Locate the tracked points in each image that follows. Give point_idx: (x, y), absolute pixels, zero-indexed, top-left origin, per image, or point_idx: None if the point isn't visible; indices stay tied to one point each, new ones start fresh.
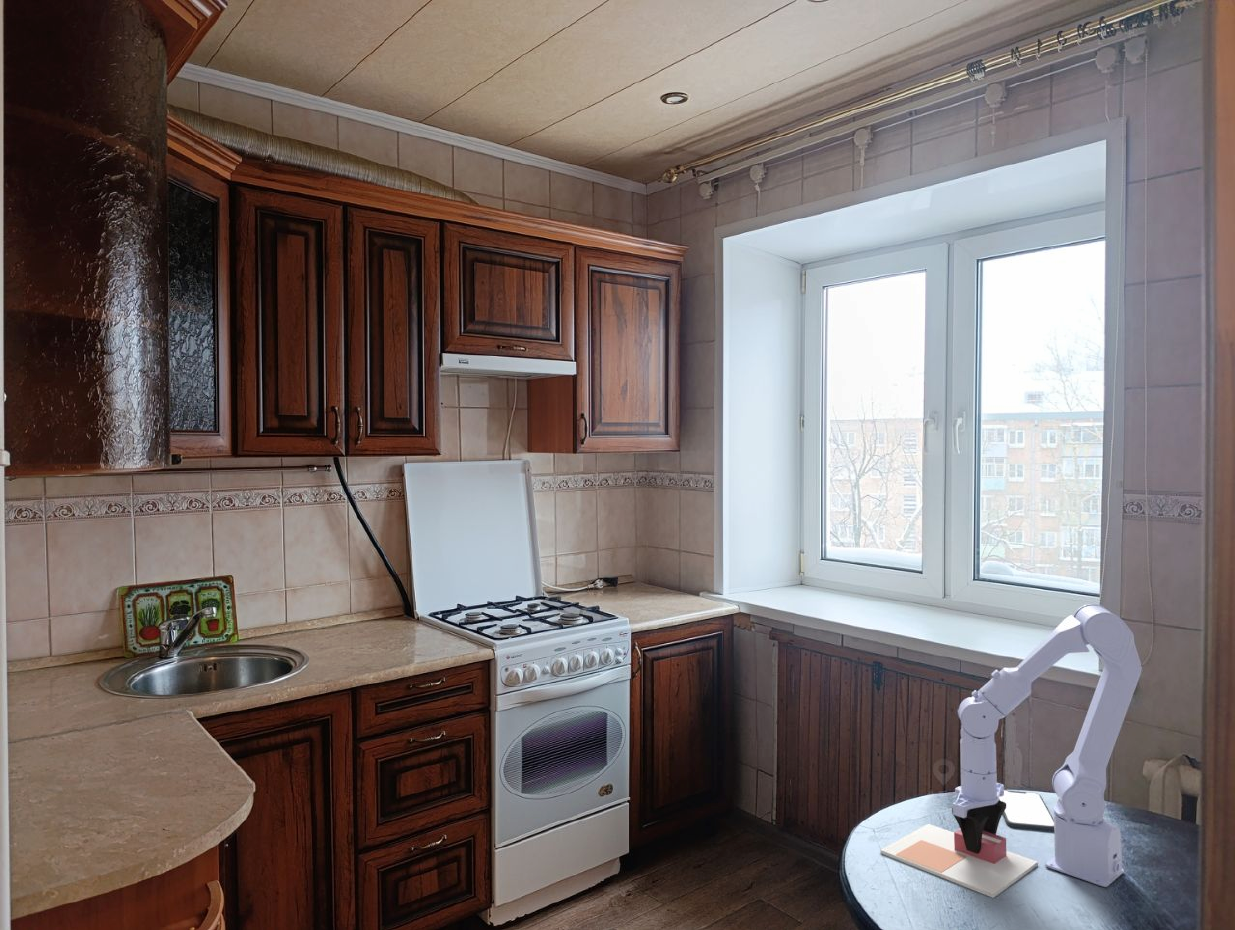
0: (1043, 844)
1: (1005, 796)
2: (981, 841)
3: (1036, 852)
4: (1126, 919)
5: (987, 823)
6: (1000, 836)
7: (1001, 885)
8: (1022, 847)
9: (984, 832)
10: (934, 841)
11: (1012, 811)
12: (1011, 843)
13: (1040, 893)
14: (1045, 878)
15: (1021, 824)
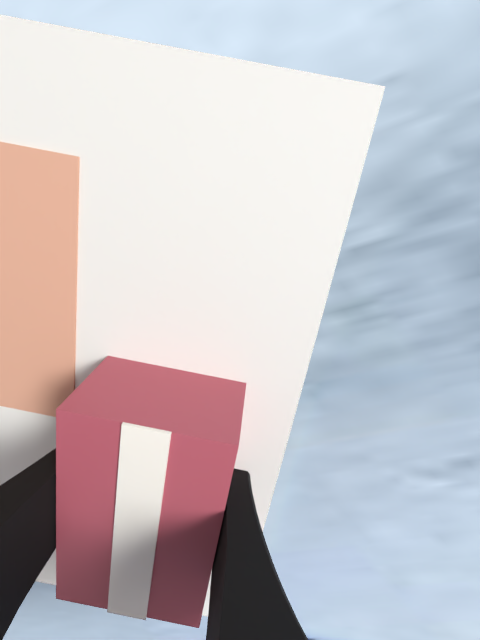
0: (454, 605)
1: None
2: (50, 554)
3: (355, 594)
4: None
5: (213, 609)
6: (200, 607)
7: None
8: (375, 554)
9: (193, 544)
10: (123, 234)
11: None
12: (394, 518)
13: (41, 624)
14: (154, 628)
15: None
